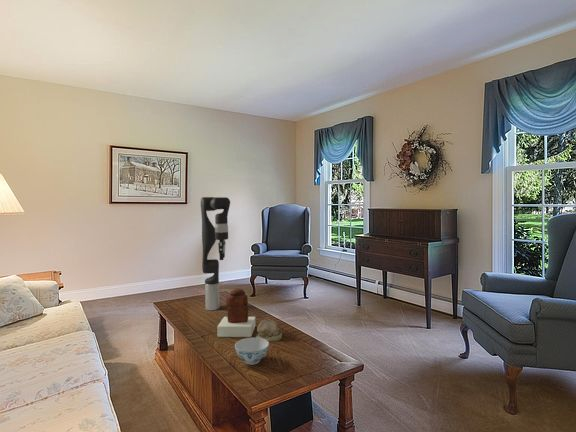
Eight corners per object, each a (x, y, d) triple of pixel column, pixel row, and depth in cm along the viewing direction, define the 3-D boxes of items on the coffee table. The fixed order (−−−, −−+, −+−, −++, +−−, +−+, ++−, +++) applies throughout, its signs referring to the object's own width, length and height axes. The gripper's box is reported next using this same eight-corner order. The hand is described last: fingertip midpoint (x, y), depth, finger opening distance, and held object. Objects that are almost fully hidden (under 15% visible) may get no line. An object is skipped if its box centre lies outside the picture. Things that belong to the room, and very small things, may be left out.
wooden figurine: (248, 318, 190) (247, 286, 189) (248, 322, 183) (247, 289, 183) (227, 319, 188) (226, 288, 188) (226, 323, 182) (225, 291, 181)
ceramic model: (252, 341, 172) (252, 321, 172) (258, 332, 183) (258, 314, 183) (279, 342, 170) (279, 323, 170) (283, 334, 181) (283, 315, 181)
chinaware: (272, 366, 144) (272, 348, 144) (237, 371, 140) (237, 353, 140) (265, 351, 159) (264, 335, 159) (233, 356, 155) (232, 339, 154)
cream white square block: (224, 326, 194) (224, 316, 194) (255, 326, 194) (255, 316, 193) (217, 337, 178) (217, 326, 178) (251, 337, 178) (251, 326, 177)
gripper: (216, 230, 205) (217, 257, 205) (213, 232, 190) (214, 261, 191) (229, 230, 205) (229, 256, 206) (227, 232, 191) (227, 260, 192)
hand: (222, 258), depth 198 cm, fingers open, 8 cm apart
